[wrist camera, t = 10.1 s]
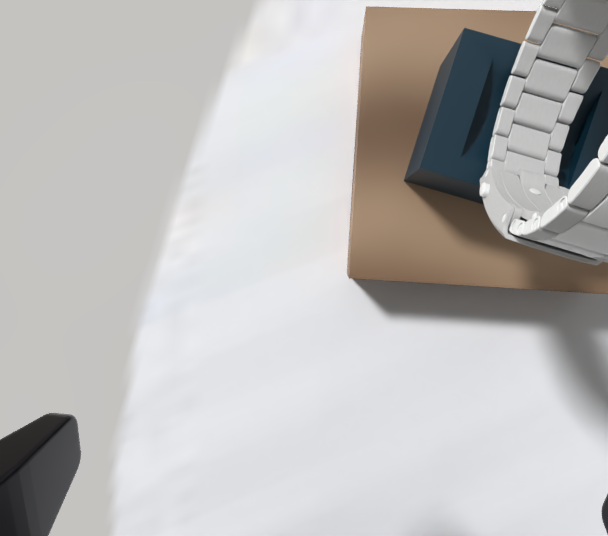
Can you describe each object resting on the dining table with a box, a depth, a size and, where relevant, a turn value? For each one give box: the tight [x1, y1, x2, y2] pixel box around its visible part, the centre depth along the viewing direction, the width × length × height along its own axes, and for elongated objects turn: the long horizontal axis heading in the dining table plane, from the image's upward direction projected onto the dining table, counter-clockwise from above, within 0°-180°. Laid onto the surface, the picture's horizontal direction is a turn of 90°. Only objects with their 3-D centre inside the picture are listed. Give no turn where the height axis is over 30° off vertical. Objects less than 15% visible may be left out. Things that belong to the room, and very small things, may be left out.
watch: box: [404, 0, 608, 265], centre depth 11 cm, size 6×8×11 cm
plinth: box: [347, 7, 608, 294], centre depth 18 cm, size 10×10×2 cm
